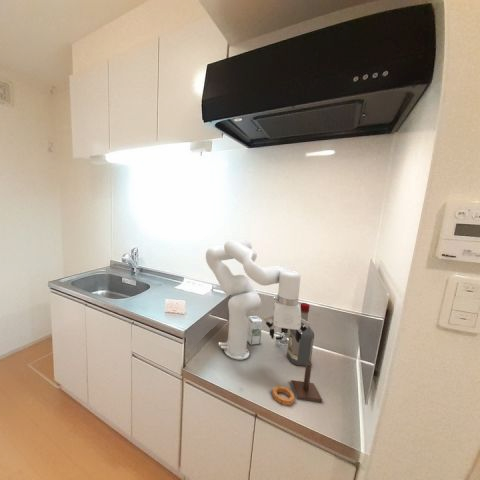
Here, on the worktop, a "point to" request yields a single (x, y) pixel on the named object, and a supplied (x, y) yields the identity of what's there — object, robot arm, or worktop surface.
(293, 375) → the worktop surface
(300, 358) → the liquor
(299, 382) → the stand
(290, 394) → the ring
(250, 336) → the syrup box
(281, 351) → the worktop surface
